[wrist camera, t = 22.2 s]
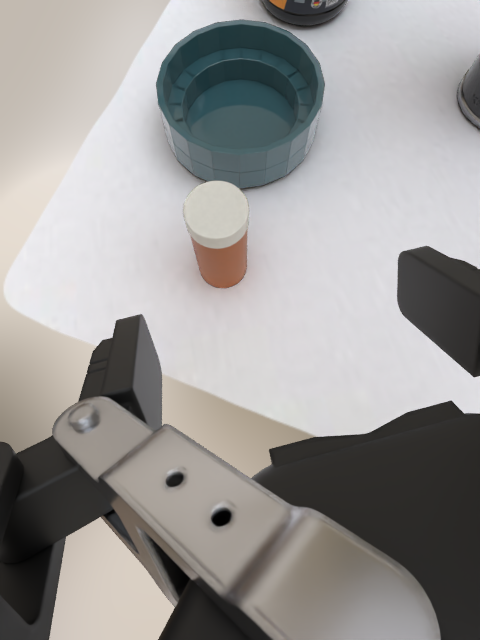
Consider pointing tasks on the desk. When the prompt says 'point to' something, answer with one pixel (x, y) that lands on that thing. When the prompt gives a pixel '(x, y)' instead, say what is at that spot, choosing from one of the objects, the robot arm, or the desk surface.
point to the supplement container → (304, 10)
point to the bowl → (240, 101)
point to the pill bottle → (218, 231)
